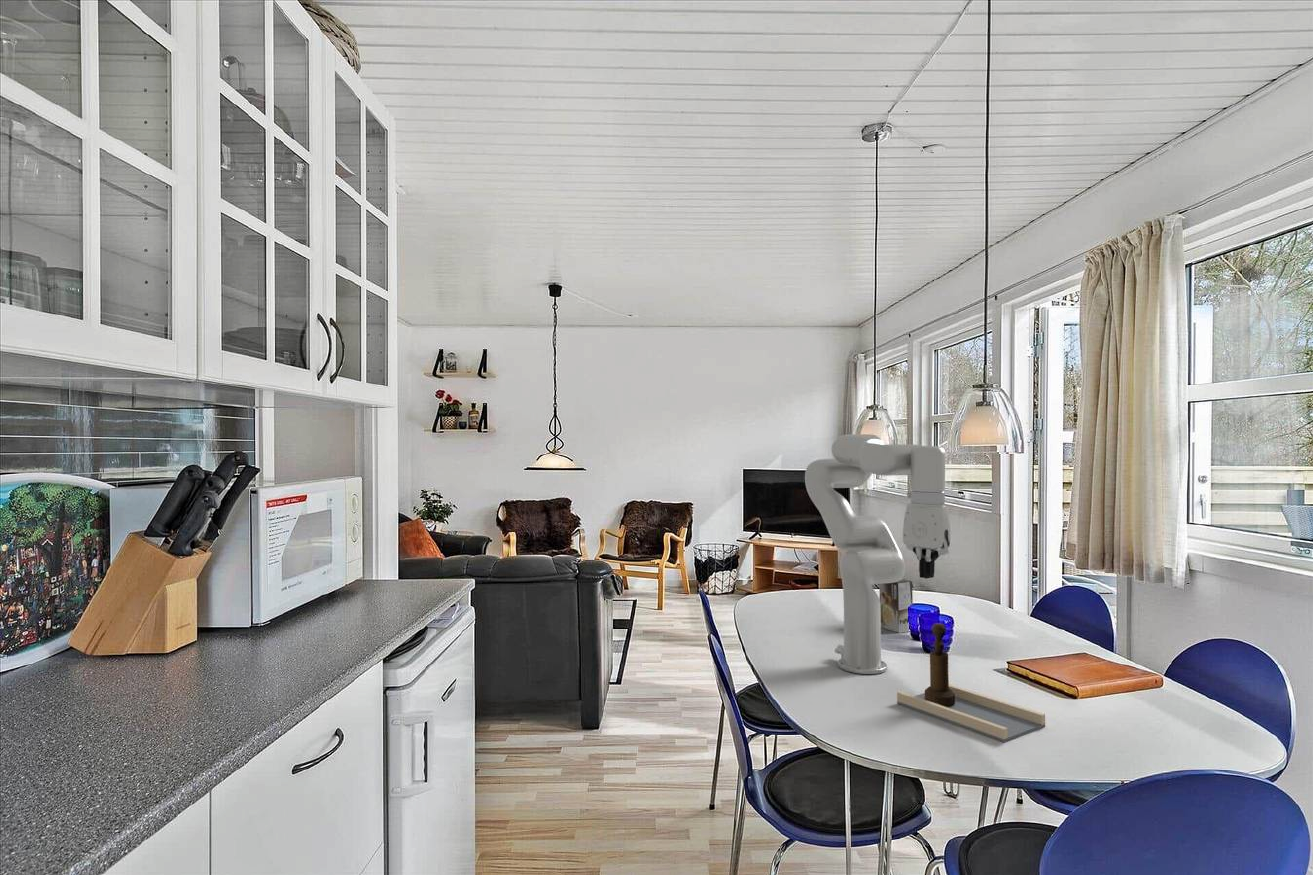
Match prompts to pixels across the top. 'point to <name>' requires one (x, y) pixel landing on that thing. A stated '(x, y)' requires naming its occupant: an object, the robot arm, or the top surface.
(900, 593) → the coffee box
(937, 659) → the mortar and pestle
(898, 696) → the grey tray beige rails
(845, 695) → the top surface
